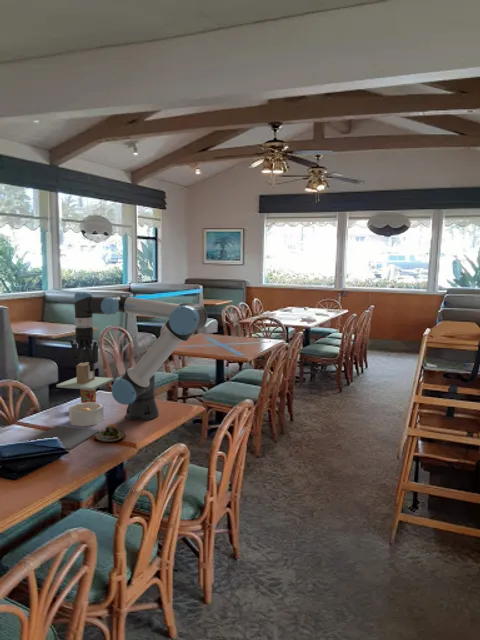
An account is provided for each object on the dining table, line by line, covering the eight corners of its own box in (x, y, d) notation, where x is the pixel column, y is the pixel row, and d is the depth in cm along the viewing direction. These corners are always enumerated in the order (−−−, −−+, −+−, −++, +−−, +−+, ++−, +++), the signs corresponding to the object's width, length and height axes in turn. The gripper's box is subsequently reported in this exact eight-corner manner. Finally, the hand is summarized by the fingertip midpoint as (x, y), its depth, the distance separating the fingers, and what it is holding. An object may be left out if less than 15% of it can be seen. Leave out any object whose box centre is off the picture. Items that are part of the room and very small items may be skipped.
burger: (89, 441, 195) (88, 424, 194) (108, 432, 206) (107, 415, 205) (112, 446, 190) (112, 428, 189) (131, 437, 201) (130, 419, 200)
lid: (114, 380, 224) (113, 361, 223) (92, 390, 207) (91, 369, 206) (80, 377, 229) (79, 359, 228) (56, 387, 212) (55, 367, 210)
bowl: (108, 417, 225) (108, 403, 224) (91, 427, 211) (91, 412, 211) (81, 414, 228) (81, 401, 228) (63, 424, 215) (63, 410, 214)
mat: (99, 431, 206) (99, 430, 206) (70, 449, 186) (70, 448, 186) (57, 426, 211) (57, 425, 211) (24, 444, 191) (24, 442, 191)
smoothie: (76, 408, 239) (75, 368, 236) (87, 403, 246) (86, 365, 244) (89, 410, 236) (88, 370, 233) (100, 405, 243) (99, 366, 241)
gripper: (62, 327, 213) (64, 378, 216) (96, 328, 209) (98, 381, 212) (72, 325, 221) (74, 374, 223) (105, 326, 216) (107, 377, 219)
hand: (85, 377), depth 217 cm, fingers closed on lid, 4 cm apart
